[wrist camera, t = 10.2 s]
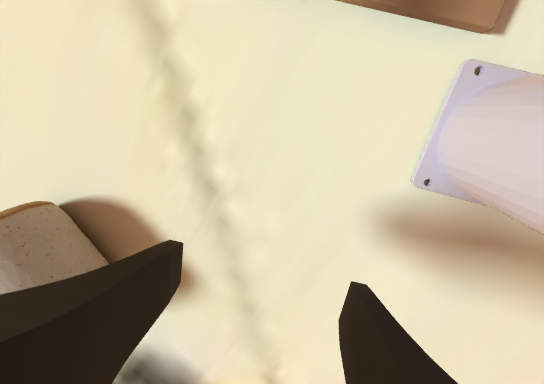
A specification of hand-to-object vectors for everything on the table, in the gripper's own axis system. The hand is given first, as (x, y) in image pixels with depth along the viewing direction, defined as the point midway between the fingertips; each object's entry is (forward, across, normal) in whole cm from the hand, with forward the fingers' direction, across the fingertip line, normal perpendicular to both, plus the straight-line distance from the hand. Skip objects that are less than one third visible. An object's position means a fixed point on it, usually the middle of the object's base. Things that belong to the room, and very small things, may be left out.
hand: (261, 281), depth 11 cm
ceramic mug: (+10, +19, +9) cm, 23 cm away
